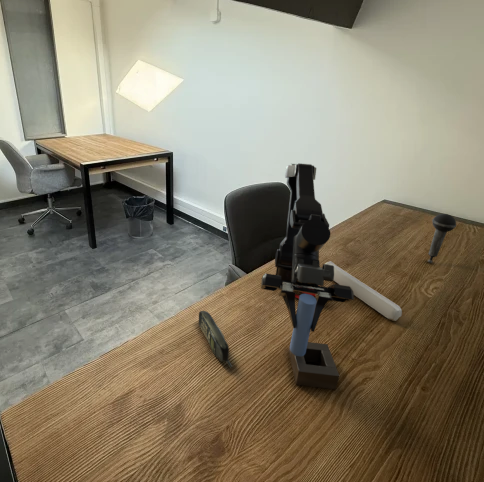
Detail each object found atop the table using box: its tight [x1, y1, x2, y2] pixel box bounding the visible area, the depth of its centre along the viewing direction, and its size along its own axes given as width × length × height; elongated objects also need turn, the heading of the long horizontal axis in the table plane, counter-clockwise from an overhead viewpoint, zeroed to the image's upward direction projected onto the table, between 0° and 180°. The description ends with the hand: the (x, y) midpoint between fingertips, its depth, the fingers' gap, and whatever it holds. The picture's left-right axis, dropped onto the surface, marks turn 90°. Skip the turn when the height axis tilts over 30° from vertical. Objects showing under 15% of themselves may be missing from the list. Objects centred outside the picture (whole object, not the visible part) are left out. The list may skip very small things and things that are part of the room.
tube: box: [325, 260, 403, 322], centre depth 94 cm, size 5×5×25 cm
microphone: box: [427, 213, 457, 264], centre depth 111 cm, size 7×7×20 cm
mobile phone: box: [198, 310, 233, 369], centre depth 74 cm, size 5×3×15 cm
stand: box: [288, 341, 340, 390], centre depth 68 cm, size 8×8×4 cm
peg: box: [289, 293, 317, 356], centre depth 65 cm, size 3×3×14 cm
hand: (303, 329), depth 64 cm, fingers closed on peg, 3 cm apart
